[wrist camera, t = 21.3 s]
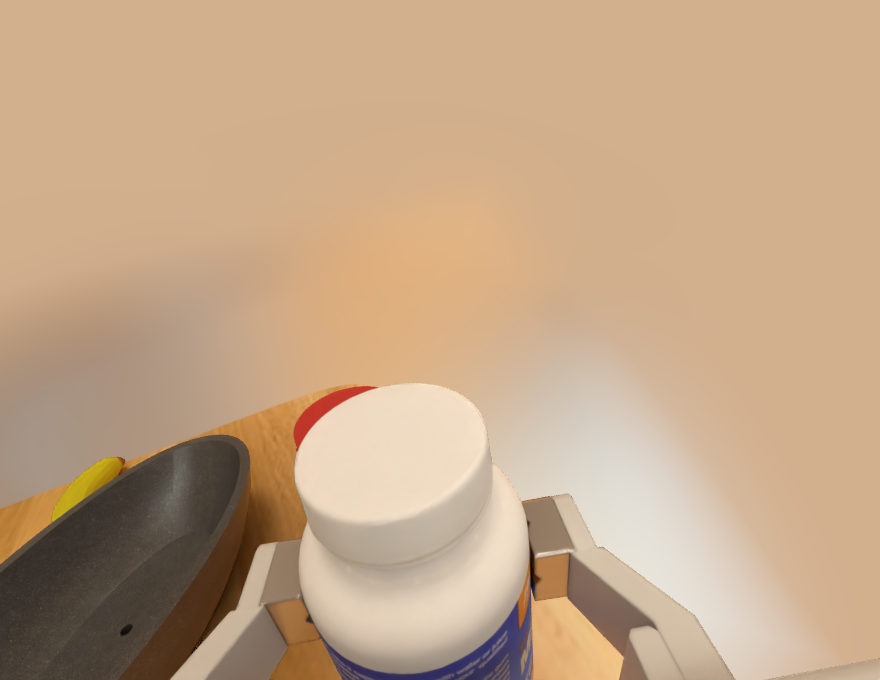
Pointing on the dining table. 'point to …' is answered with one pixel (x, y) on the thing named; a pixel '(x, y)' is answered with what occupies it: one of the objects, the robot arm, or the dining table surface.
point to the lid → (323, 410)
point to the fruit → (88, 484)
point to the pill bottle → (413, 541)
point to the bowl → (128, 570)
